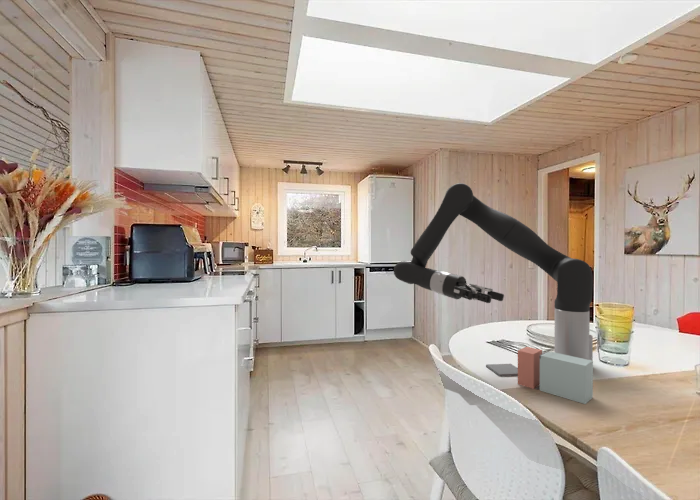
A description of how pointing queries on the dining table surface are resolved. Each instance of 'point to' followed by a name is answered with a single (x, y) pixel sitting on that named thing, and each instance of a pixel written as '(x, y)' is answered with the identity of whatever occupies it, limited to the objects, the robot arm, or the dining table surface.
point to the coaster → (503, 369)
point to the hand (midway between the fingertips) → (497, 298)
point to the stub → (529, 367)
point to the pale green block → (566, 376)
